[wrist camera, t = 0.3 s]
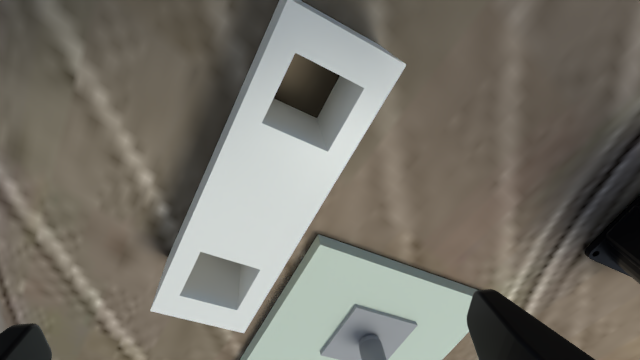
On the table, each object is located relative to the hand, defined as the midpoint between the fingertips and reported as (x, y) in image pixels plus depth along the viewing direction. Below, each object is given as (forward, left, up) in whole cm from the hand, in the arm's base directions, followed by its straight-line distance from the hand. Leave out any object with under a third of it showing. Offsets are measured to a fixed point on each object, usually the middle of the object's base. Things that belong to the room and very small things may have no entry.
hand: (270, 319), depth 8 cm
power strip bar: (-1, +3, -13) cm, 13 cm away
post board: (-13, +17, -13) cm, 25 cm away
